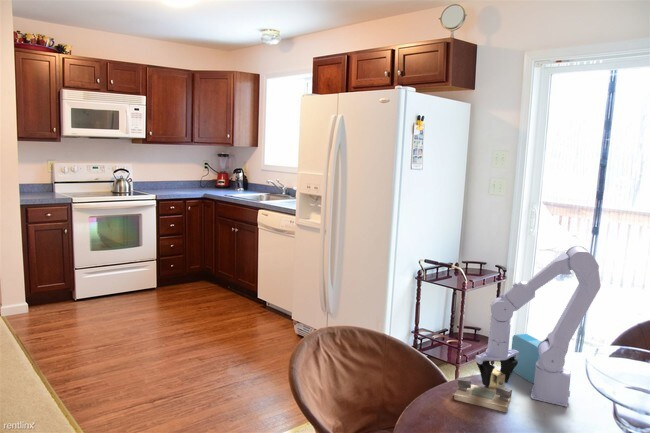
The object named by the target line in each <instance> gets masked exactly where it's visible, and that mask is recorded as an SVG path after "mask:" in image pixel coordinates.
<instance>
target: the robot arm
mask: <svg viewBox="0 0 650 433" xmlns="http://www.w3.org/2000/svg"><path fill="white" fill-rule="evenodd" d="M599 268H600V266H599V264H598V262H597V260H596V258H595V256H594V255H593V254H592V253H590V252H589V251H588V249H586V248H585V247H583V246H581V245H573V246H571V247H569V248H567V250H566V252H565V251H564V252H562V253H560V254H559V255H558V256H556V257H555V258H554V259H553V260H551V262H549V263H547V265H546V266H545V267H543V268H542V269H541V270H540V271H538V272H537V273H536V274H535V275H533V276H532V277H531V278H530V279H529V280H527V281H522V280H521V281H519V282H514V283H512V287H511V288H510V289H508V290H507V291H506V292H504V293H500V294H499V296H498V297H496V298H494V299H493V300H492V301H491V304H490V312H491V316H490V322H489V328H488V339H487V340H488V341H487V342H488V344H487V348H485V351H483V352H482V353H480V354H476V355H475V360H474V361H475V364H476V365H477V367H478V370H479V374H480V377H481V378H480V379H481V382H482V385H483V386H484V387H485V388H489V385H490V379H491V374H492V371H493V369H494V368H495V366H494V365H493V364H491V362H495V361H496V362H497V361H499V363H500V372H502V373H504V374H505V384H508V382H509V380H510V377H511V375H512V373H513V372H514V371H513V369H514V368H515V367H516V365H517V364H518V361H517V360H515V359H514V358H518V356H519V352H518V351H516V350H514V349H513V350H511V349H509V346H510V336H511V319H512V318H513V316H514V312H516V311H518V310H519V309H521V308H523V306H525V305H527V304H528V303H529V302H531V301H532V300H533V299H534V298H535V297H536V291H538V289H540V288H541V287H543V286H545V285H546V284H548V283H549V282H550V281H552V280H553V279H556V277H558V276H559V275H568V276H569V275H572V272H573V273H574V275H575V278H576V279H577V281H578V285H577V287H576V289H574V291H573V294H572V295H571V298H570V299H569V301H568V302H567V304H566V306H565V308H564V310H563V312H562V313H561V315H560V317H559V319H558V320H557V322H556V324H555V326H554V327H553V330H552V331H551V332H549V333H548V334H547V336H546V337H545V338H544V339H543V340H540V341H541V342H540V343H539V345H538V348H537V350H538V353H539V356H540V358H539V360H538V361H537V362H536V368H535V378H534V384H533V386H532V387H531V388H532V389H531V394H530V399H532V400H535V401H541V402H545V403H547V404H548V403H550V404H553V405H557V406H562V407H566V408H567V407H568V404H569V398H570V396H571V390H570V385H571V376H572V375H571V374H572V372H571V371H570V370H567V369H565V368H564V366H565V362H566V359H565V358H566V355H567V353H568V351H569V346H570V342H571V340H572V338H573V336H574V335H575V333H576V332H577V330H578V328H579V326H580V324H581V322H582V320H583V319H584V317H585V316H586V315H587V314H586V313H587V312H588V310H589V308H590V307H591V305H592V303H593V301H594V300H595V298H596V297H597V295H598V292H599V291H600V289H601V286H602V285H601V276H600V270H599ZM571 271H572V272H571Z"/></svg>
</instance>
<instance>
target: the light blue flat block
mask: <svg viewBox="0 0 650 433" xmlns="http://www.w3.org/2000/svg"><path fill="white" fill-rule="evenodd" d="M541 341H542V340H540V339H537V338H535V337H533V336H532V335H530V334H528V333H521V334H514V335H513V336H512V339H511V349H510V350H513V349H514V350H516V351H518V352H519V356H518V358H514V359H515V360H517V361H518V364H517V365H516V367H515V368H514V369H513V371H512V372H514V373H515V374H517V375H518V376H519V377H522V378H523V379H525V380H526V381H528V382H530V383H531V384H533V385H534V378H535V368H536V362H537V361H538V360H539V358H540V356H539V353H538V350H537V348H538V345H539V343H540V342H541Z"/></svg>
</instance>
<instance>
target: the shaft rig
mask: <svg viewBox="0 0 650 433" xmlns="http://www.w3.org/2000/svg"><path fill="white" fill-rule="evenodd" d="M456 385H457V389H456V391H455V392H454V398H453V399H454V400H455V401H459V402H463V403H467V404H471V405H476V406H480V407H484V408H487V409H490V410H496V411H499V412H503V413H508V410H509V406H510V402H511V399H512V394H513V389H512V388H509V387H506V386H504V387H503V386H500V385H499V386H497V387H496V390H494V389H490V388H489V387H486V386H481V385H476V384H472V379H471V378H467V377H459V376H458V377H457V380H456Z"/></svg>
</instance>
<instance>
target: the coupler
mask: <svg viewBox="0 0 650 433" xmlns="http://www.w3.org/2000/svg"><path fill="white" fill-rule="evenodd" d="M505 384H506V383H505V374H504V373H502V372H501V370H499V369H497V368H495V367H494V369H493V371H492V374H491V379H490V385H489V387H488V388H490V389H494V390H496V387H497V386H499V385H500V386H503V387H505Z"/></svg>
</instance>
